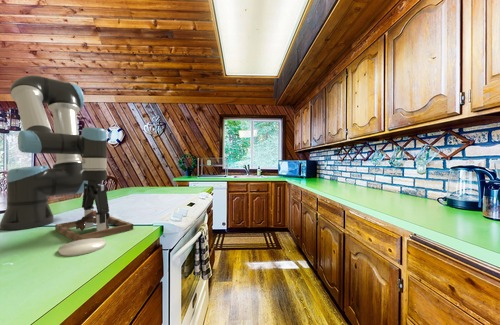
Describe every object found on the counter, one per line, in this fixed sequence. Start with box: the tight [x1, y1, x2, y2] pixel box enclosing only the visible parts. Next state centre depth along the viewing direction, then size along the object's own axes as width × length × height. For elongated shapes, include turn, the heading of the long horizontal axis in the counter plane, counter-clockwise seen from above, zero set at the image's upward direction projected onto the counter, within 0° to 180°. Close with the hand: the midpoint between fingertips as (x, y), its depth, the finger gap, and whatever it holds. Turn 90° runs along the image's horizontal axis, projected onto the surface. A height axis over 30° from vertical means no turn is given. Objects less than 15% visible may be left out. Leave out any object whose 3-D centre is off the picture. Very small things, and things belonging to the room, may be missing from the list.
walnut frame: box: [54, 216, 134, 242], centre depth 83 cm, size 22×17×2 cm
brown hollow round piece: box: [75, 209, 111, 231], centre depth 84 cm, size 12×10×8 cm
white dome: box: [58, 237, 107, 257], centre depth 66 cm, size 11×11×1 cm
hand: (94, 229), depth 83 cm, fingers open, 10 cm apart
